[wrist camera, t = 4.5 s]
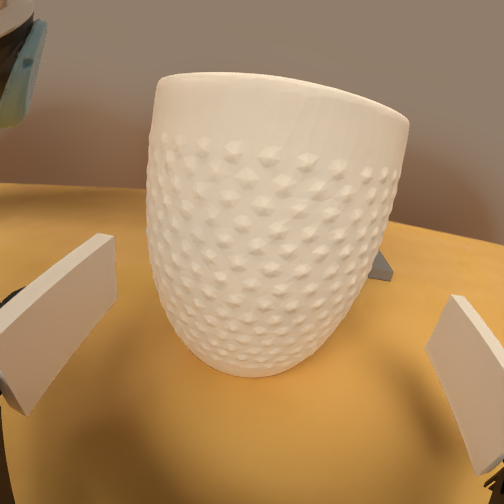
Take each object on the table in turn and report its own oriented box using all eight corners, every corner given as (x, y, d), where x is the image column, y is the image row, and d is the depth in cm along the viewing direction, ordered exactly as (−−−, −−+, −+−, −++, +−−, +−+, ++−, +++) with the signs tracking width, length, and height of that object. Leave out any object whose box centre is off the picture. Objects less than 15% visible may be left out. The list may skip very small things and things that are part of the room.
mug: (270, 261, 27) (296, 110, 22) (383, 317, 21) (437, 142, 16) (113, 323, 16) (112, 82, 11) (253, 456, 10) (350, 71, 5)
